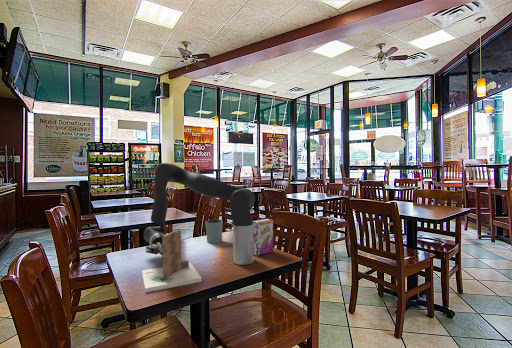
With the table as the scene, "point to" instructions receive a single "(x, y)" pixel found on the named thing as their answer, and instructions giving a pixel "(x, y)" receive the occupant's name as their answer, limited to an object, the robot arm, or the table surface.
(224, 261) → the table surface
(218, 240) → the grey-blue bumpy cylinder
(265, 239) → the candy bar box
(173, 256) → the brown flat streaked slab
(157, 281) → the plate
